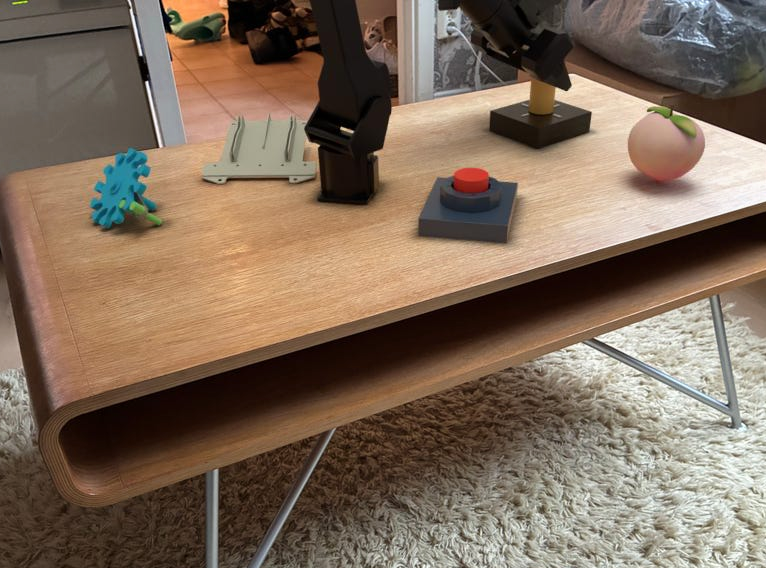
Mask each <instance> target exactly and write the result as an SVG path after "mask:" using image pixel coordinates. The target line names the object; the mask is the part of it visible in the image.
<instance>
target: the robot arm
mask: <svg viewBox="0 0 766 568" xmlns="http://www.w3.org/2000/svg"><path fill="white" fill-rule="evenodd" d="M563 1H564V0H437V9H438V11H439V12H444V11H445V12H446V11H456V10H458V9H459V10H461V12H462V13H463V14H464V15H465V16H466V17H467V18H468V20H469V21H470V24H469V26H470V27H471V28H472V31H471V32H470V43H471V45H472V46H473V47H474V48H475V49H476V50H477V51H478V52H481V53H482V54H484V55H485V56H487V57H489V58H491V59H493V60H496V61H498V62H500V63H503V64H504V65H507V66H510V67H512V68H514V69H517V70H518V71H519V70H520V71H522V72H524V73H526V74H528V75H529V77H530V78H531V77H532V78H535V79H537V80H539V81H541V82H544V83H546V84H549V85H551V86H554V87H556V89H559V90H561V91H563V92H568V91H569V90H570V89H572V86H573V84H572V80H571V78H570V75H569V71H568V68H567V66H566V61H565V59H566V58H567V56H568V55H569V54H570V53H571V51H572V50H573V49H574V48H575V41H574V40H573V38H572V37H571V36H570V35H569V33H568V32H566V31H563V30H561V29H558V28H557V27H556V28H555V27H554V26H553V27H545V28H543V29H542V31H541V32H540V33H536V32H534V31H533V29H534V30H535V29H537V27H538V26H539V25H540V23H541V22H542V21H541V19H540V18H539V16H541V15H543V14H544V13H546V12H547V11H549V10H550V9H551V8H553V7H555V6H559V5H560V4H562V2H563ZM309 4H310V9H311V11H312V16H313V20H314V24H315V30H316V32H317V37H318V41H319V45H320V50H321V54H322V57H323V58H322V60H323V62H322V66H321V69H320V72H319V77H318V80H317V89H318V90H317V91H318V97H319V100H318V102H317V104H316V105H315V107H314V109H313V111H312V113H311V115H310V116H309V118H308V120H307V121H308V122H307V123H306V125H305V124H304V125H305V127H304V130H305V133H306V139H307V140H308V142H309V143H311V144H316V145H318V147H317V158H318V168H319V170H318V171H319V181H320V182H319V183H320V191H319V192H318V194H317V195H316V200H317V201H318V202H327V203H342V204H351V205H352V204H354V205H355V204H356V205H367V204H369V202H370V200H371V199H372V197H373V195H375V193H376V192H377V190H378V189H379V188H380V170H379V169H380V168H379V156H378V155H376V154H375V153H376V152H378V151H381V150H383V149H384V145H385V141H386V137H387V131H388V127H389V122H390V117H391V115H392V112H393V111H392V110H393V108H392V107H393V106H392V105H393V104H392V98H395V93H394V92H393V90H392V87H391V86H392V85H391V81H390V70H389V67H388V65H387V63H386V62H382V61H378V60H375V59H374V60H373V59H372V58H371V57H370V56H369V54H368V52H367V49H366V45H365V40H364V35H363V30H362V29H363V28H362V25H361V19H360V15H359V10H358V5H357V0H309ZM341 128H343V129H341ZM344 129H347V130H349V131H347V130H344ZM350 131H352V132H350Z"/></svg>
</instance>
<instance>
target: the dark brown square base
mask: <svg viewBox="0 0 766 568" xmlns="http://www.w3.org/2000/svg"><path fill="white" fill-rule="evenodd" d="M592 115H593V111H591V110H588V109H585V108H581V107H579V106H576V105H573V104H569V103H567V102H563V101H559V100H556V99H555V100H554V110H553V112H552V113H550V114H545V115H539V114H534V113H531V112H529V99H527V100H523V101H520V102H517V103H512V104H509V105H506V106H502V107H498V108H495V109H492V110H490V111H489V124H488V125H489V127H488V131H489V132H492V133H494V134H496V135H497V134H498V135H500V136H502V137H505V138H508V139H510V140H513V141H516V142H517V143H521V144H524V145H525V146H529V147H531V148H534V149H537V150H539V149H542V148H544V147H548V146H550V145H554V144H557V143H559V142H563V141H565V140H569V139H572V138H575V137H578V136H581V135H584V134H586V133H590V129H591V124H592V123H591V122H592Z"/></svg>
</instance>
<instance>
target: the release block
mask: <svg viewBox="0 0 766 568" xmlns="http://www.w3.org/2000/svg"><path fill="white" fill-rule="evenodd" d="M518 188H519V182H513V181H499V180H497V178H495V177H492V176H489V183H488V190H487V191H485V192H481V193H475V194H472V193H461V192H458V191H455V190H454V174H453V175H451V176H449V177H441V176H437V177H436V179H435V181H434V183H433V186H432V188H431V190H430V192H429V195H428V197H427V199H426V200H425V203H424V206H423V207H422V210H421V212H420V214H419V217H418V219H417V220H418V223H417V224H418V229H417V230H418V231H417V232H418V237H425V238H427V237H429V238H439V239H449V240H462V241H473V242H474V241H475V242H484V243H485V242H486V243H499V244H508V239H509V235H510V230H511V225H512V221H513V217H514V212H515V209H516V204H517V200H518Z"/></svg>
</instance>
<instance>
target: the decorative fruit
mask: <svg viewBox="0 0 766 568" xmlns="http://www.w3.org/2000/svg"><path fill="white" fill-rule="evenodd" d="M674 107H675V104H674V103H673V104H671V106H670V108H669V107H667V106H663V105H662V106H661V105H658V106H654V105H653V106H650V107H648V108H647V110H646V113H648V114H646V115H645V116H643V117H642V118H641V119H639V120H638V121H637V122H636V123H635V124H634V125H633V126H632V128H631V130H630V132H629V134H628V137H627V153H628V157H629V160H630V162H631V163H632V165H633V166H634V168H635V169H636V170H638V172H640V173H641V174H643V175H644V176H646V177H648V178H650V179H652V180H654V181H655V183H656V184H661V183H667V182H670V181H675V180H677V179H679V178H682V177H683V176H685V175H687V174H688V173H689V172H690V171H692V170H693V169H694V168H695V167H696V166H697V164H698V163H699V162H700V160H701V158H702V157H703V154H704V152H705V148H706V138H705V134H704V132H703V129H702V128H701V126H700V125H699V124H698V123H697V122H696V121H695V120H694V119H692V118H689V117H688V116H685V115H680V114H677V113H675V112H674Z"/></svg>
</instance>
